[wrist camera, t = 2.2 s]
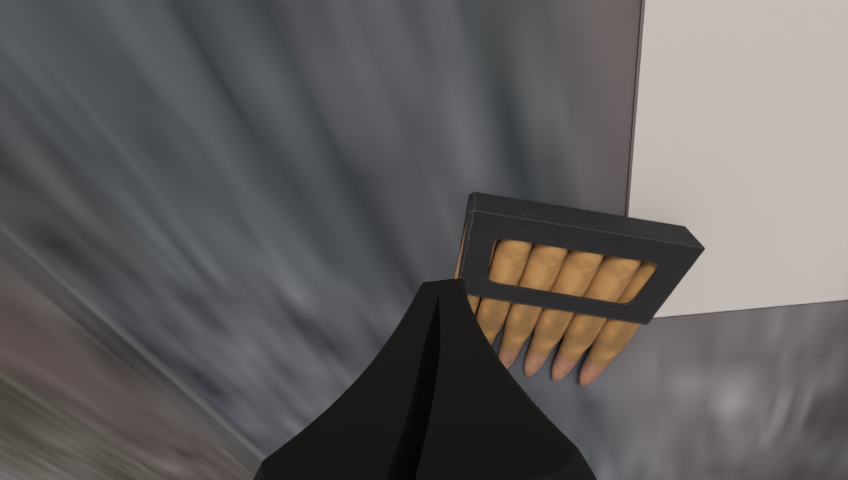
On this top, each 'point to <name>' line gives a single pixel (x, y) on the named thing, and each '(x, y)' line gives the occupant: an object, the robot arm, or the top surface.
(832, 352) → the top surface
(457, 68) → the top surface
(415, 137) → the top surface
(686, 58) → the mat
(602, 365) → the ammunition clip
